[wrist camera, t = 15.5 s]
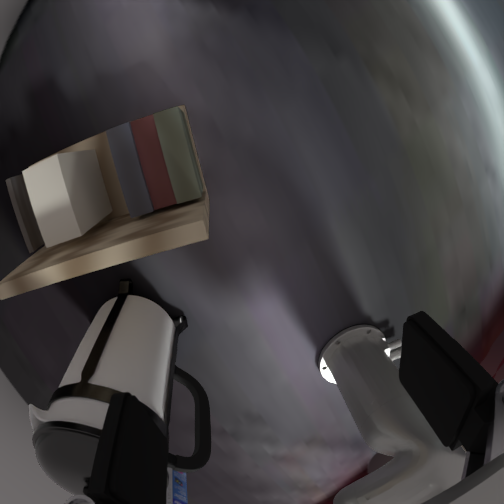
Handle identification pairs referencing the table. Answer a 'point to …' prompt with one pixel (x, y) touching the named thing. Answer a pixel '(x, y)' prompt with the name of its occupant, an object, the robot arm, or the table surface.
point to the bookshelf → (123, 203)
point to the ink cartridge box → (176, 488)
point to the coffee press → (116, 389)
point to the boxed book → (67, 195)
